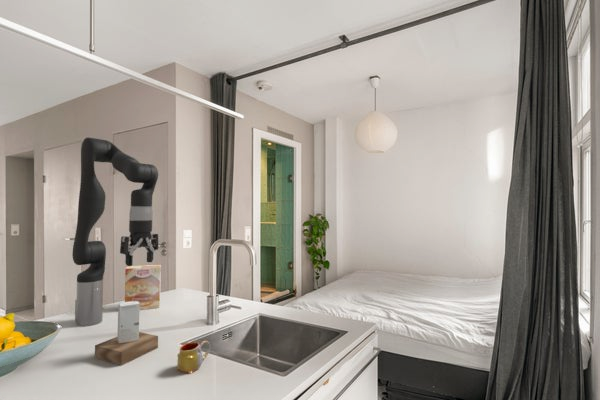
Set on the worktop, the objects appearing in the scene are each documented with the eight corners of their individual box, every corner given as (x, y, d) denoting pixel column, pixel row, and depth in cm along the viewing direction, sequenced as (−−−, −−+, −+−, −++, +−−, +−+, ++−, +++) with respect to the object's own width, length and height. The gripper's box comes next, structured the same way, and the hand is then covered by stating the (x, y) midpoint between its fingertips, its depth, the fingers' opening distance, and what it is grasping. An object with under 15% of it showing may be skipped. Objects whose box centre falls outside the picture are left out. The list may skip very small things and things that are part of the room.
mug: (188, 376, 96) (188, 352, 96) (172, 370, 100) (172, 347, 100) (218, 360, 107) (219, 338, 107) (203, 354, 110) (203, 334, 110)
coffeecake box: (124, 311, 154) (125, 268, 155) (126, 307, 161) (126, 265, 161) (159, 308, 160) (160, 266, 160) (160, 304, 166) (160, 264, 167)
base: (94, 358, 107) (94, 345, 107) (132, 341, 120) (132, 330, 120) (121, 365, 102) (121, 352, 102) (157, 347, 115) (158, 335, 115)
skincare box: (118, 344, 108) (119, 306, 108) (116, 339, 112) (117, 302, 112) (139, 340, 111) (140, 303, 112) (137, 336, 115) (138, 300, 115)
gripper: (149, 217, 130) (148, 260, 130) (115, 219, 117) (114, 266, 117) (164, 218, 127) (162, 262, 127) (131, 220, 114) (129, 268, 114)
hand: (139, 263), depth 122 cm, fingers open, 8 cm apart
